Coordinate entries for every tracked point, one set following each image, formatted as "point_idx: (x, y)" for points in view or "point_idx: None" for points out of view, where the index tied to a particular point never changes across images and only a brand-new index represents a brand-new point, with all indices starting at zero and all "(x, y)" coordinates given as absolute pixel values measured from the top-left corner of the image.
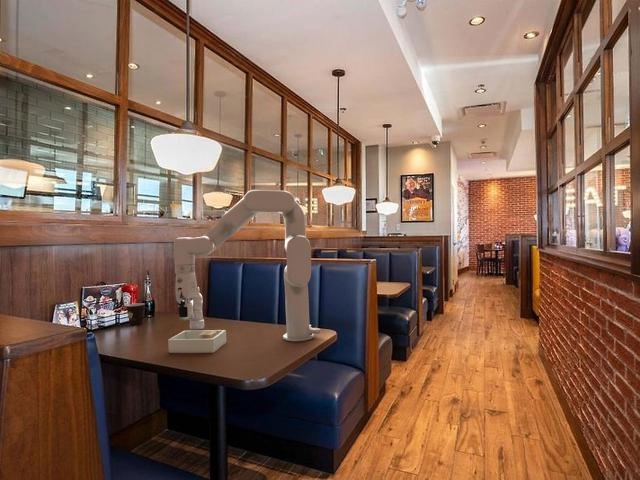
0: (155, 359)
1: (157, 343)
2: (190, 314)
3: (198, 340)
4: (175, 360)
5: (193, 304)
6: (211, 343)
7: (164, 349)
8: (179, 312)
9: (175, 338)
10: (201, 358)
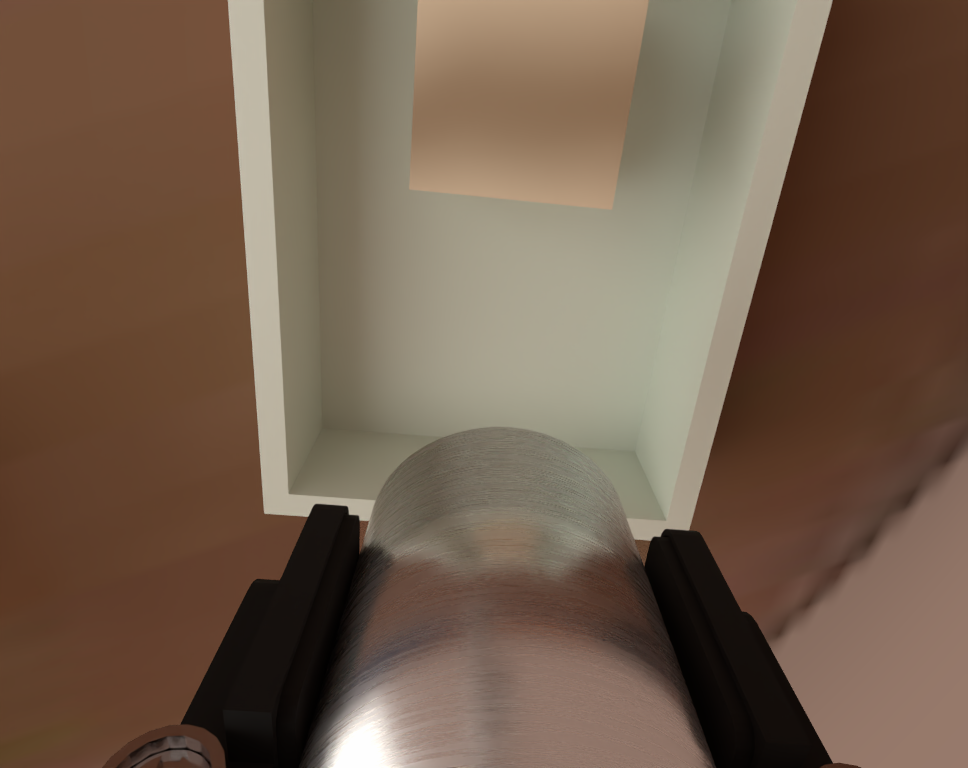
0: (815, 500)
1: None
2: (599, 511)
3: (781, 156)
4: (915, 316)
5: (263, 692)
6: None
7: None
8: None
9: None
10: (956, 37)
